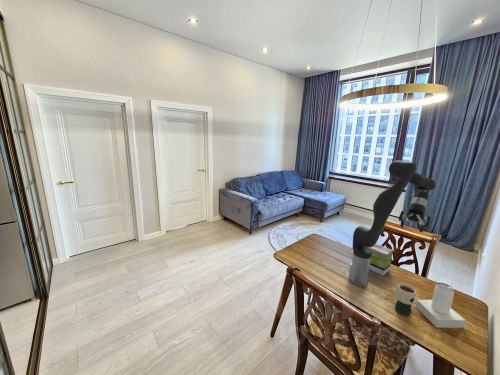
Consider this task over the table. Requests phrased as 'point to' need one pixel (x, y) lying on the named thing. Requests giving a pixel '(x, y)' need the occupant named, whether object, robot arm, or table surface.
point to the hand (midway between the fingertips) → (411, 229)
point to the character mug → (405, 299)
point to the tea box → (380, 259)
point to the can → (442, 298)
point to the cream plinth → (440, 316)
